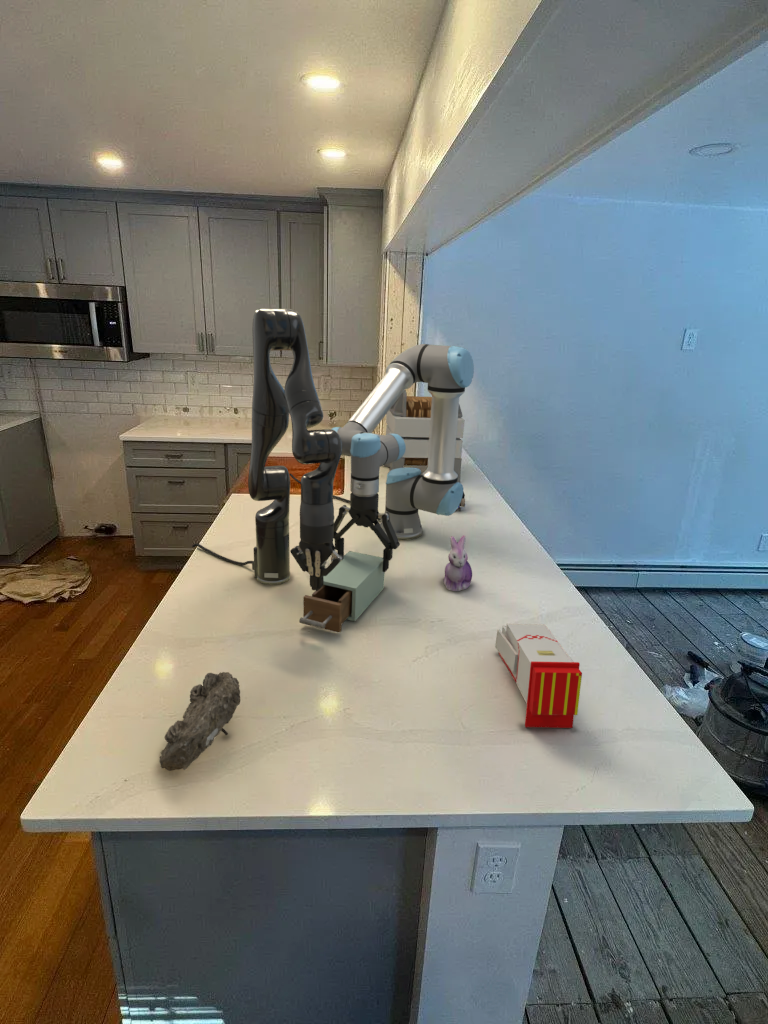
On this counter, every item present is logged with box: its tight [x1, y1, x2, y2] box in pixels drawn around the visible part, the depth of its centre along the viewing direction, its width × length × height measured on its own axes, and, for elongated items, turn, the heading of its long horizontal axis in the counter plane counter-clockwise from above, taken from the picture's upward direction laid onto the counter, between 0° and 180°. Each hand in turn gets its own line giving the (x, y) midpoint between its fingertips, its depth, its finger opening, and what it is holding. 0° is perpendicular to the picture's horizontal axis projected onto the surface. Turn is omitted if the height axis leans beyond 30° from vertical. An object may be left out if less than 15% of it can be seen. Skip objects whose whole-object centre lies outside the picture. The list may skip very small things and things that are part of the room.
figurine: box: [443, 534, 473, 592], centre depth 162 cm, size 9×10×15 cm
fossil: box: [159, 671, 241, 772], centre depth 102 cm, size 22×10×15 cm
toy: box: [494, 623, 583, 729], centre depth 120 cm, size 12×13×30 cm
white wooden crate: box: [383, 389, 465, 483], centre depth 268 cm, size 34×33×41 cm
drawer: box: [299, 584, 352, 633], centre depth 142 cm, size 24×10×7 cm, turn 159°
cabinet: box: [323, 550, 386, 622], centre depth 152 cm, size 20×11×9 cm, turn 159°
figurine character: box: [457, 490, 466, 511], centre depth 229 cm, size 7×8×15 cm
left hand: (316, 588), depth 131 cm, fingers closed
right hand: (362, 565), depth 157 cm, fingers open, 13 cm apart
